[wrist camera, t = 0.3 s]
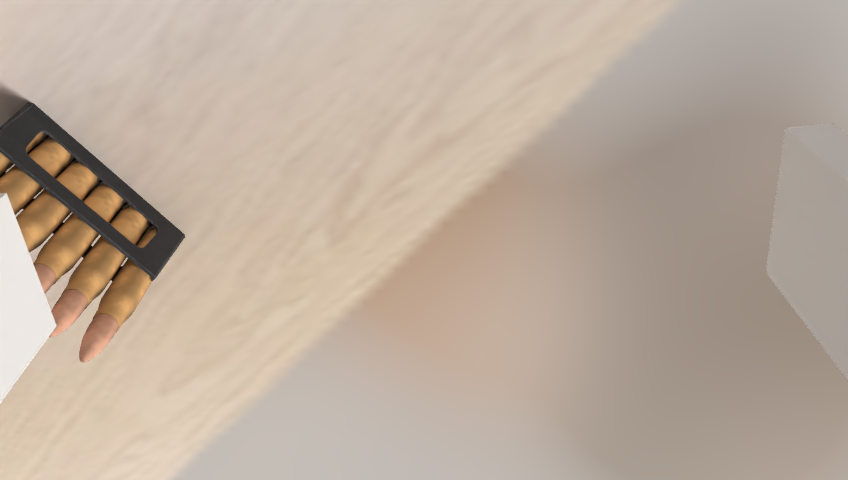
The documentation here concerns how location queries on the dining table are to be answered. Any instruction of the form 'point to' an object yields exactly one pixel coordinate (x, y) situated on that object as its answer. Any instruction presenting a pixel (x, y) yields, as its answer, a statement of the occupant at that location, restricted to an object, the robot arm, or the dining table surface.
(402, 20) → the dining table surface
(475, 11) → the dining table surface
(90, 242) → the ammunition clip
